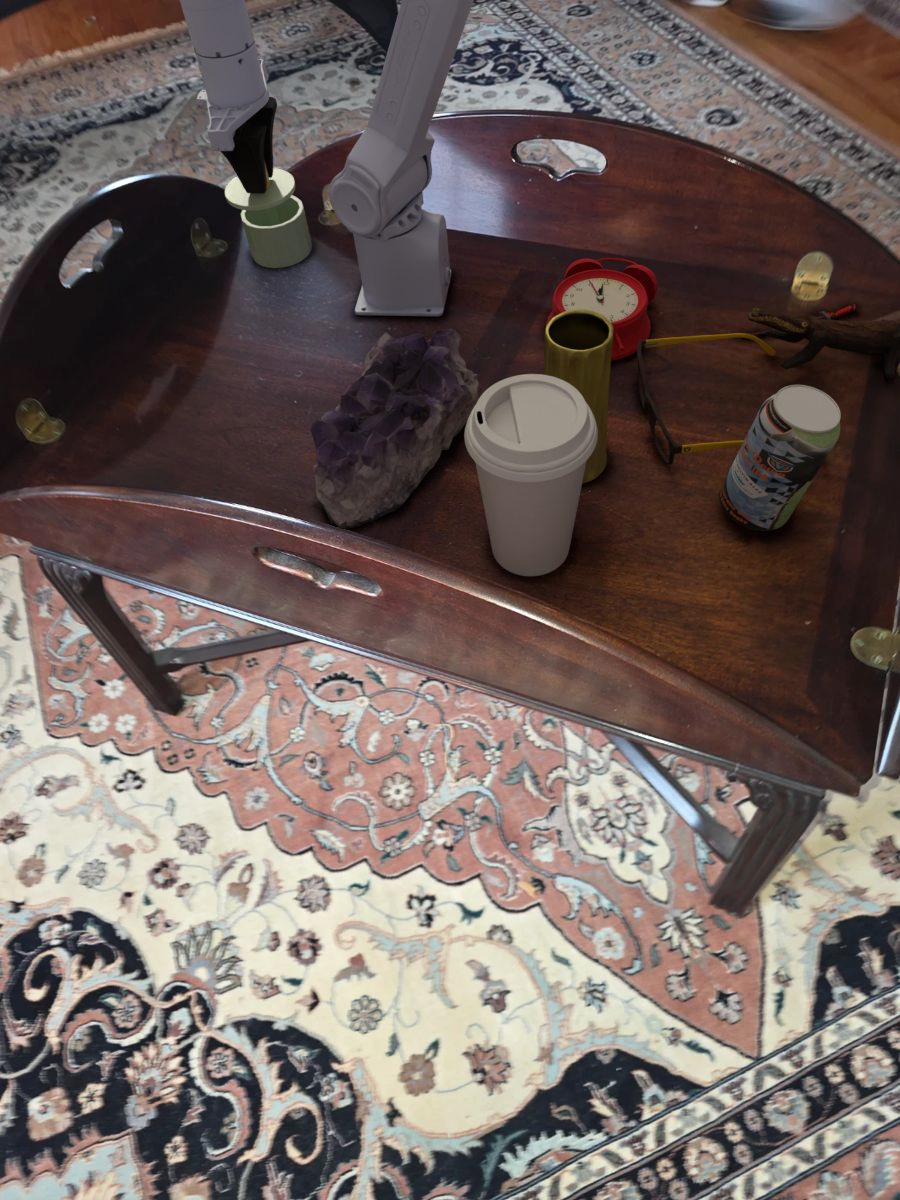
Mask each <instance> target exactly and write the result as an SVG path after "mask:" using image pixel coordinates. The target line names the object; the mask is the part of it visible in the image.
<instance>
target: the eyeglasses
mask: <svg viewBox="0 0 900 1200" xmlns="http://www.w3.org/2000/svg"><path fill="white" fill-rule="evenodd" d="M735 338H739V339H740V338H742V339H748V340H751V341H754V342H755V343H757V344H758V345H759V347H761V349H762V350H763V351H764V352H765V353H766V354H767V355H768V356H771V357H773V356H776V353H777V352H776V350H775V348H774V347H772V346H770V345H769V344H768V343H766V342H765V341H764V340H762V339H761V338H759V336H753V335H750V334H748V333H744V332H742V333H741V332H736V333H720V334H703V335H690V336H676V337H675V336H674V337H661V338H651V339H647V340H639V342H638V348H637V351H636V359H637V375H638V377H637V378H638V392H639V397H640V398H639V399H640V403H641V405H642V409H643V410H644V409H647V412H648V422H649V429H650V433H651V437H652V440H653V443H654V445H655V448H656V450H657V453H658V455H659V456H660V457H661V459H662V460H663V461H664V463H665V464H666V465H668V466H670V465H673V463H674V459H675V455H678V454H679V455H680V454H688V453H695V452H705V451H709V450H717V449H726V448H736V447H741V446H742V444H743V442H744V440H745V439H743V440H728V441H727V440H726V441H712V442H702V443H700V442H699V443H691V444H681V445H680V444H678V443H676V441H675V440H674V438H673V437H672V435H671V433H669V431H668V429H667V427H666V425H665V423H664V422H663V419H662V417H661V414H660V412H659V410H658V408H657V405H656V403H655V401H654V398H653V397H651V395H650V388H649V382H648V378H647V374H646V371H645V366H644V363H643V357H642V350H643V349H649V348H654V347H655V348H656V347H664V346H665V347H666V346H669V345H677V344H678V345H679V344H687V343H697V342H707V341H717V340H727V339H735ZM657 423H658V425H659V427H660V429H661V431H662V433H663V435H664V437H665V439H666V441H667V443H668V444H667V445H668V457H667V456H666V455H665V453H664V452H663V449H662V448H661V445H660V442H659V440H658V437H657V433H656V425H657Z"/></svg>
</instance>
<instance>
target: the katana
mask: <svg viewBox="0 0 900 1200" xmlns="http://www.w3.org/2000/svg"><path fill="white" fill-rule="evenodd" d="M855 311H857V304H855V303H854V304H852V303H851V304H850V305H848V306H846V307H843V308H840V309H838V310H835V311H831V312H826V311H825V310H821V311H819V312H818V315H816V316H815V317H818V318H820V319H826V320H835V319H836V318H838V317H840V316H842V315H845V314H847V313H852V312H855ZM769 329H770V328H768V329H763V330H759V331H753V332H748V333H747V334H750V335H753V336H756V337H760V336H766V335H765V334H764V332H765V331H766V330H769ZM771 329H774V328H771ZM775 330H776V329H775Z"/></svg>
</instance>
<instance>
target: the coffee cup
mask: <svg viewBox="0 0 900 1200" xmlns="http://www.w3.org/2000/svg"><path fill="white" fill-rule="evenodd" d="M478 398H479V400H478V402H477V404H476V405H475V406H474V408H473V410H472V411H471V413H470V415H469V418H468V420H467V422H466V423H465V427H464V434H463V437H464V445H465V448H466V451H467V452H468V454H469V456H470V457H471V458H472V460H473V461H474V463H475V468H476V473H477V478H478V483H479V487H480V493H481V499H482V504H483V509H484V510H483V511H484V514H485V519H486V524H487V531H488V534H489V535H488V536H489V540H490V545H491V546H490V547H491V551H492V555H493V557H494V559H495V561H496V562H497V564H499V565H500V567H502V568H503V569H504V570H506V571H507V572H510V573H512V574H514V575H517V576H523V577H539V576H543V575H546V574H549V573H551V572H553V571H555V570H556V569H558V568H560V566H561V565H563V563H564V562H565V561H566V559H567V557H568V556H569V551H570V546H571V542H572V538H573V537H572V536H573V532H574V526H575V523H576V522H575V521H576V516H577V511H578V507H579V502H580V501H579V500H580V495H581V491H582V485H583V484H582V481H583V476H584V471H585V466H586V461H587V459H588V458H589V457H590V455H591V454H592V452H593V451H594V449H595V446H596V443H597V438H598V430H597V425H596V421H595V418H594V415H593V413H592V411H591V409H590V407H589V406H588V404H587V403H586V402H585V400H584V398H583V396H582V395H581V393H580V392H579V391H578V390H577V389H576V388H575V387H573V386H572V385H571V384H569V383H567V382H565V381H563V380H561V379H558V378H556V377H552V376H548V375H544V374H542V373H541V374H539V373H525V374H518V375H513V376H510V377H507V378H504V379H502V380H499V381H497V382H495V383H494V384H492V385H491V386H489V387H488V388H487V389H486V390H484V392H483V393H482V394H481V395H480V396H479V397H478Z"/></svg>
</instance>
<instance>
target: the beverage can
mask: <svg viewBox="0 0 900 1200" xmlns="http://www.w3.org/2000/svg"><path fill="white" fill-rule="evenodd" d="M841 416H842V415H841V410H840V407H839V405H838V404H837V402H836V401H835V400H834V399H833V398H832V397H831V396H830V395H829V394H827V393H826V392H825V391H823V390H821V389H818V388H816V387H814V386H810V385H805V384H790V385H787V386H784V387H782V388H781V389H779V390H778V391H777V392H776V393H774V394H773V395H771V396H770V397H768V398H767V399H766V400H765V401H764V402H763V403H762V404H761V407H760V408H759V410H758V412H757V414H756V416H755V418H754V420H753V422H752V424H751V426H750V428H749V430H748V432H747V434H746V436H745V438H744V439H743V440H744V442H743V444H742V446H740V447H739V450H738V452H737V454H736V456H735V458H734V460H733V462H732V464H731V465H730V468H729V470H728V472H727V475H726V476H725V478H724V480H723V482H722V484H721V486H720V488H719V491H718V500H719V504H720V507H721V509H722V511H723V512H724V513H725V514H726V516H728V518H730V519H731V521H733V522H735V523H737V524H738V525H740V526H741V527H744V528H747V529H749V530H753V531H758V532H768V531H773V530H774V531H775V530H777V529H779V528H781V527H783V526H784V525H785V524H786V523H787V522H788V521H789V519H790V518H791V516H792V515H793V513H794V511H795V509H796V508H797V507H798V505H799V503H800V502H801V500H802V498H803V497H804V495H805V493H806V492H807V490H808V489H809V488H810V485H811V484H812V482H813V480H814V479H815V477H816V476H817V474H818V473H819V471H820V470H821V468H822V466H823V464H824V463H825V461H826V460H827V458H828V457H829V455H830V453H831V452H832V451H833V448H834V447H835V445H836V443H837V442H838V440H839V437H840V435H841V422H840V421H841Z"/></svg>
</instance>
